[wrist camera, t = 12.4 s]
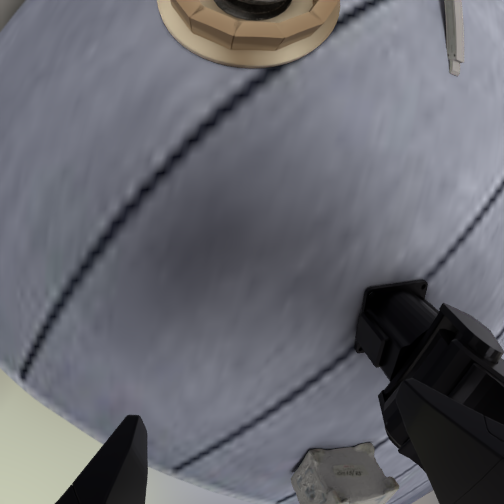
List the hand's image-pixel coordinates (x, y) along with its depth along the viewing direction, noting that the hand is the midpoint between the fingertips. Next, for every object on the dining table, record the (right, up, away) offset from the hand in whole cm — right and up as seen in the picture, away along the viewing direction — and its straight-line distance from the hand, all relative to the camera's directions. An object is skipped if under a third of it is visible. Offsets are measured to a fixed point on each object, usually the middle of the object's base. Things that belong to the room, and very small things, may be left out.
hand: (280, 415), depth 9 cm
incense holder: (+10, -22, +24) cm, 34 cm away
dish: (-1, +22, +6) cm, 23 cm away
